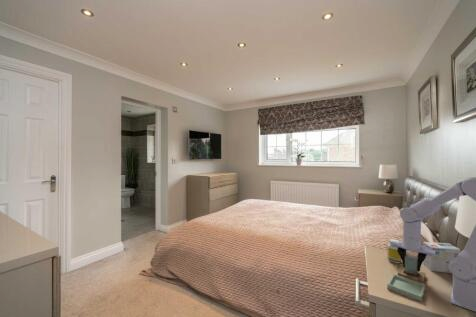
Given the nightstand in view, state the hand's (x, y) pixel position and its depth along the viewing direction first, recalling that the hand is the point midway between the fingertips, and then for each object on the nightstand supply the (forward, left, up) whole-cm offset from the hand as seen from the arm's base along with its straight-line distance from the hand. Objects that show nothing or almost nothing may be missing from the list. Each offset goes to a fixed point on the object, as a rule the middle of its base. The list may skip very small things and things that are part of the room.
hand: (411, 268), depth 90 cm
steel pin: (0, 0, -3) cm, 3 cm away
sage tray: (0, +12, -3) cm, 12 cm away
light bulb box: (-8, -17, -4) cm, 19 cm away
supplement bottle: (+8, -11, -4) cm, 14 cm away
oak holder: (0, 0, -3) cm, 3 cm away
